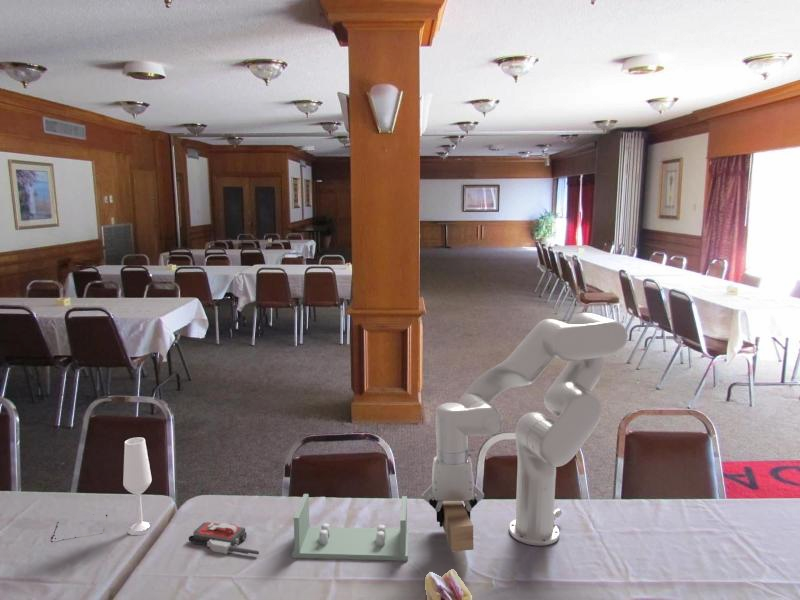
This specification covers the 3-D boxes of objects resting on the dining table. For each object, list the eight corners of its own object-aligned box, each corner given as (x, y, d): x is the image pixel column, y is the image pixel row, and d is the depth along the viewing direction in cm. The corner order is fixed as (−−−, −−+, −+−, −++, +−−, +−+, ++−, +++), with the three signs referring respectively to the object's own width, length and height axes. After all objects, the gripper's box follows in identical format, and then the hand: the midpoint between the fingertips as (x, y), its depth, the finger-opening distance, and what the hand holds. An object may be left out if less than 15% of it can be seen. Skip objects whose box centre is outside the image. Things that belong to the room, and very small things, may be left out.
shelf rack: (409, 533, 153) (409, 496, 151) (407, 560, 141) (408, 520, 140) (302, 530, 154) (301, 493, 153) (292, 557, 142) (291, 517, 141)
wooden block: (436, 508, 157) (435, 487, 156) (454, 506, 157) (454, 485, 156) (452, 551, 137) (451, 527, 136) (473, 549, 138) (473, 525, 137)
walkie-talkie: (182, 548, 146) (256, 561, 141) (182, 531, 146) (256, 543, 141) (203, 530, 155) (273, 541, 150) (202, 514, 154) (273, 525, 149)
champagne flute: (120, 532, 153) (114, 443, 149) (140, 520, 159) (135, 434, 155) (140, 538, 150) (134, 447, 147) (160, 525, 156) (155, 438, 153)
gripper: (486, 447, 147) (486, 515, 150) (416, 448, 148) (418, 516, 151) (489, 460, 140) (490, 531, 143) (416, 461, 141) (418, 532, 144)
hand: (453, 523), depth 147 cm, fingers closed on wooden block, 5 cm apart
